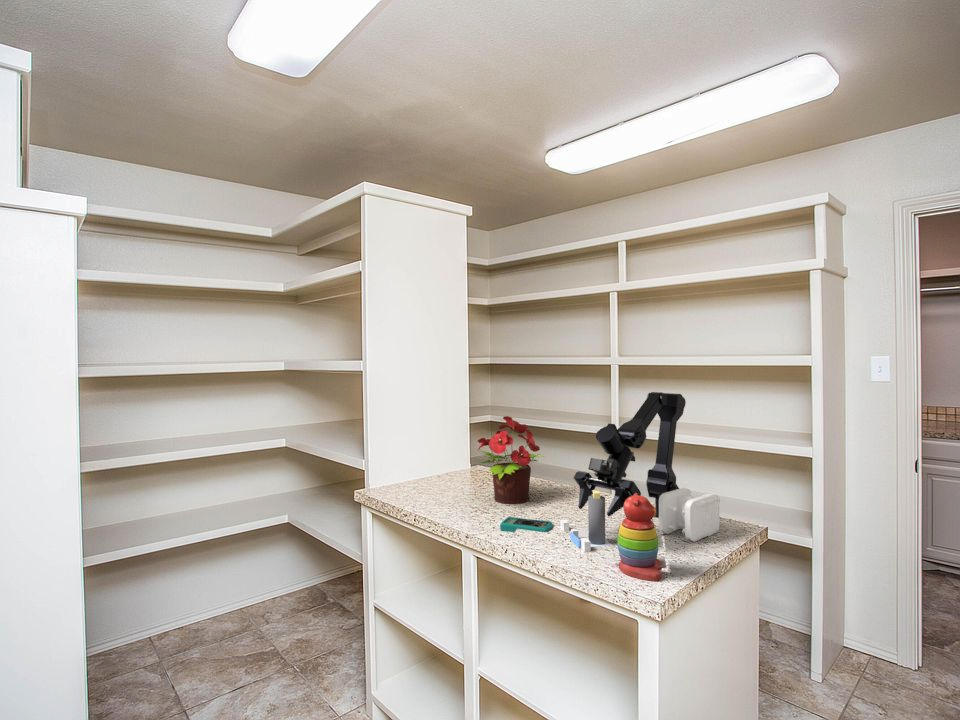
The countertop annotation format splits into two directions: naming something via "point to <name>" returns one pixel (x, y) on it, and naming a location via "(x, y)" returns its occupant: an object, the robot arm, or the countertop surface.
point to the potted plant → (510, 464)
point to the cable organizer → (689, 513)
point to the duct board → (576, 533)
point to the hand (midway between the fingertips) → (593, 511)
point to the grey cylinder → (596, 518)
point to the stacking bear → (639, 540)
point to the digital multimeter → (525, 524)
